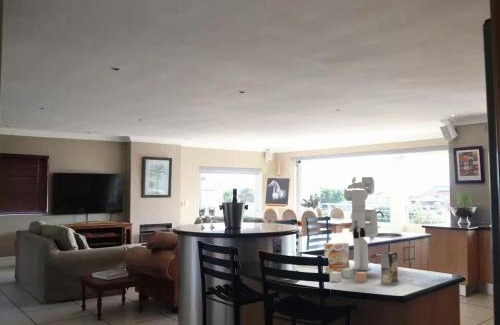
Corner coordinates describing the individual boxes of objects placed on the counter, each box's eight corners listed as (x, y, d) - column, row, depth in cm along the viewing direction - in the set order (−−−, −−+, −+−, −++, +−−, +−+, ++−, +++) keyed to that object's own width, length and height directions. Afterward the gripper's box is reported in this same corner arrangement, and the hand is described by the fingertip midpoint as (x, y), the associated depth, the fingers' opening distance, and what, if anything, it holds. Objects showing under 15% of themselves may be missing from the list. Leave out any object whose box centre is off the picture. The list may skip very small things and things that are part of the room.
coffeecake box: (328, 274, 278) (327, 244, 280) (324, 272, 285) (323, 243, 286) (350, 273, 281) (348, 243, 282) (345, 271, 288) (344, 242, 289)
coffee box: (391, 281, 251) (390, 254, 253) (381, 280, 256) (380, 253, 257) (398, 279, 258) (397, 252, 259) (388, 277, 262) (387, 251, 264)
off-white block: (334, 279, 260) (333, 271, 260) (341, 280, 257) (341, 272, 257) (330, 281, 256) (330, 272, 256) (338, 281, 253) (337, 273, 253)
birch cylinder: (384, 281, 250) (383, 273, 251) (392, 282, 247) (392, 274, 248) (381, 283, 246) (380, 274, 247) (389, 284, 243) (389, 275, 244)
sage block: (345, 275, 271) (345, 268, 272) (353, 276, 268) (352, 268, 269) (342, 277, 267) (342, 269, 268) (350, 278, 264) (349, 269, 265)
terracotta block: (358, 280, 258) (358, 271, 258) (366, 280, 255) (366, 272, 255) (355, 281, 254) (355, 272, 254) (363, 282, 251) (363, 273, 251)
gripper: (358, 209, 267) (359, 236, 265) (346, 209, 253) (347, 238, 251) (369, 209, 262) (370, 236, 261) (358, 209, 249) (359, 239, 247)
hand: (359, 237), depth 256 cm, fingers open, 9 cm apart
